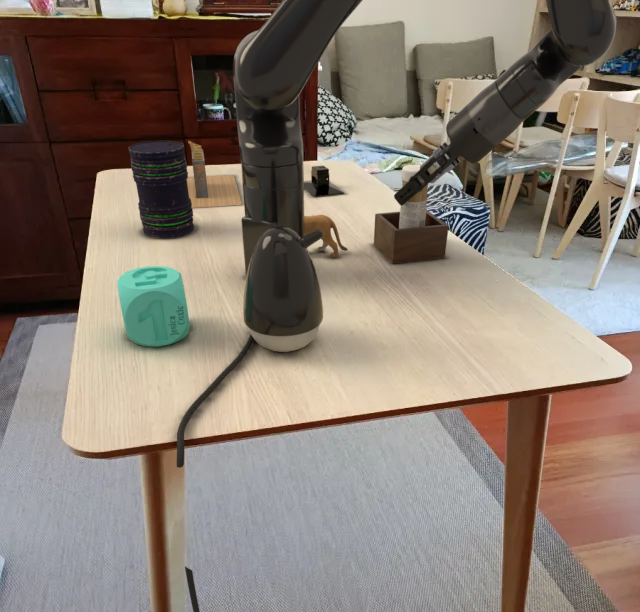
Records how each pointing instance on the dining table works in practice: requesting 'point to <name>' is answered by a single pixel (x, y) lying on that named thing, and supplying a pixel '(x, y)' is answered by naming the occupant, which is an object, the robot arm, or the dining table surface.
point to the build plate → (321, 183)
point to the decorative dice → (153, 306)
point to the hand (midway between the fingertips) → (403, 196)
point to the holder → (410, 238)
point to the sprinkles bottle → (413, 202)
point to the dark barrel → (162, 188)
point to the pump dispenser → (283, 291)
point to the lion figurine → (324, 232)
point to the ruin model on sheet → (199, 171)
